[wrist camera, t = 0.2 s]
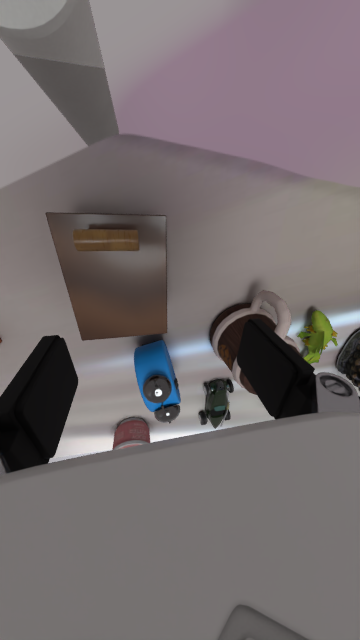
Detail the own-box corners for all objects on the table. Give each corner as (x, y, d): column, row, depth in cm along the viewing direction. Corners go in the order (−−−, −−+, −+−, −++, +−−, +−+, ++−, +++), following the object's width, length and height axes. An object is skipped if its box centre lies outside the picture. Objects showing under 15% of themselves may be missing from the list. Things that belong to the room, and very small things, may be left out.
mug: (255, 352, 52) (294, 400, 39) (202, 354, 48) (226, 408, 36) (283, 281, 42) (347, 314, 29) (219, 278, 38) (260, 313, 26)
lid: (47, 212, 21) (23, 214, 16) (165, 215, 23) (172, 217, 19) (83, 337, 29) (73, 362, 25) (166, 330, 32) (171, 351, 27)
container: (106, 425, 55) (101, 456, 48) (137, 409, 54) (138, 438, 47) (127, 439, 61) (126, 469, 54) (156, 425, 60) (158, 453, 53)
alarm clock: (133, 335, 41) (132, 392, 29) (161, 326, 42) (172, 380, 29) (151, 375, 48) (156, 435, 36) (174, 368, 49) (188, 425, 36)
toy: (327, 302, 46) (361, 322, 41) (299, 346, 61) (322, 365, 56) (303, 316, 44) (335, 339, 40) (280, 358, 59) (302, 378, 55)
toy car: (232, 374, 54) (240, 388, 50) (224, 416, 65) (230, 431, 61) (200, 379, 53) (206, 394, 49) (198, 421, 63) (202, 437, 59)
